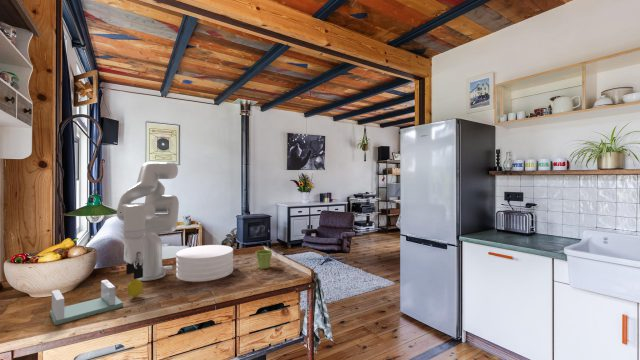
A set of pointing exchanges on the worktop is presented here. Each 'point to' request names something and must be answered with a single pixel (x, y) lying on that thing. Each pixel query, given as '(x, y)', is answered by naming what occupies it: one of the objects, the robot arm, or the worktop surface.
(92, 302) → the vise base
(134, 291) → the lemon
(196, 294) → the worktop surface
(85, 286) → the worktop surface
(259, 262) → the plant pot
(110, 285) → the vise jaw
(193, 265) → the plate stack
